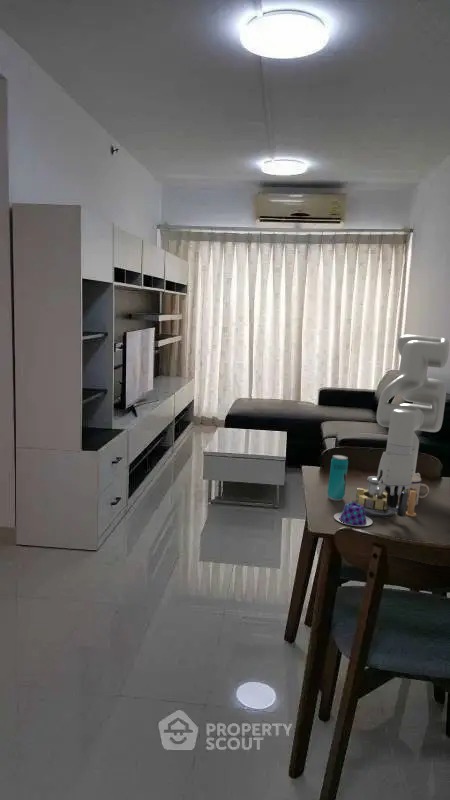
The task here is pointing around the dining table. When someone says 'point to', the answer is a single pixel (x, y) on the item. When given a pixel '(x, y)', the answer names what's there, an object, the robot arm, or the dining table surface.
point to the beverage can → (337, 477)
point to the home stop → (411, 504)
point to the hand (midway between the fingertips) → (391, 506)
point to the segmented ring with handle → (382, 501)
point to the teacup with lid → (416, 489)
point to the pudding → (353, 515)
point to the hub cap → (378, 491)
